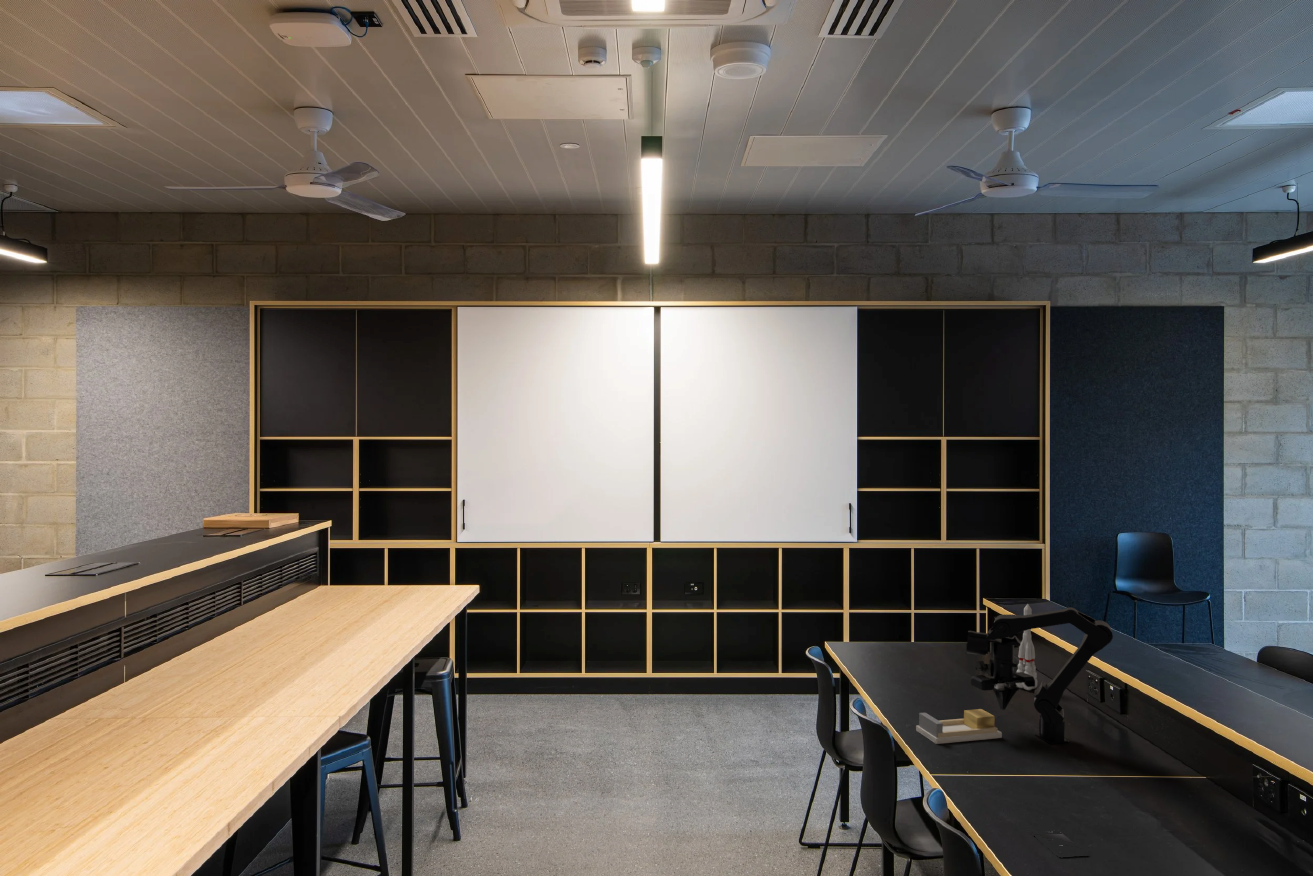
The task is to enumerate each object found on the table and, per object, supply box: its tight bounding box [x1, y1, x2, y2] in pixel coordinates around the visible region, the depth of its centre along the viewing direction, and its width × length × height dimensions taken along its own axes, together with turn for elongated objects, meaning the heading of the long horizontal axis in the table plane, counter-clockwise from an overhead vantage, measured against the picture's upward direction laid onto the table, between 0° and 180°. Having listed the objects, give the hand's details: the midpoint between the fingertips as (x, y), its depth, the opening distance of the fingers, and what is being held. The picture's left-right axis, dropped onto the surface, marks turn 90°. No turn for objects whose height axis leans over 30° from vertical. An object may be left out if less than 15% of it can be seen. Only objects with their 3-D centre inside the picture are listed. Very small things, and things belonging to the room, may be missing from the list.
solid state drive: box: [1034, 830, 1082, 849], centre depth 165 cm, size 7×10×1 cm
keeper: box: [963, 708, 996, 729], centre depth 227 cm, size 6×6×4 cm
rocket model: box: [1015, 603, 1038, 691], centre depth 268 cm, size 7×7×30 cm
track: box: [915, 712, 1003, 745], centre depth 225 cm, size 22×10×6 cm, turn 104°
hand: (1002, 709), depth 229 cm, fingers closed
